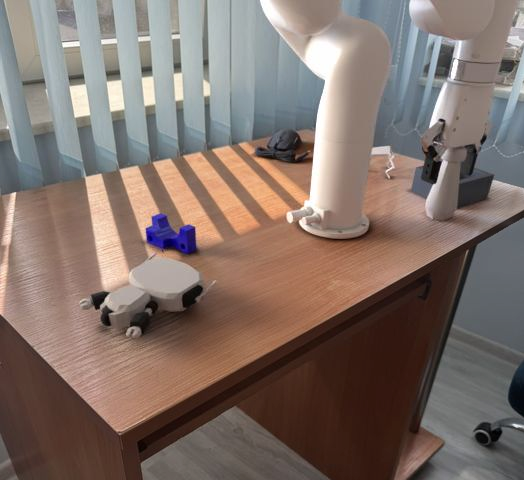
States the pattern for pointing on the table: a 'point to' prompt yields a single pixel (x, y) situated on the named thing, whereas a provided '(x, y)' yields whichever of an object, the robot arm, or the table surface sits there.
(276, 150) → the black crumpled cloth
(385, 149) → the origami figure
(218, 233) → the table surface
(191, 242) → the cable holder
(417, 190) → the holder
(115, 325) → the robot toy
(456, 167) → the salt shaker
